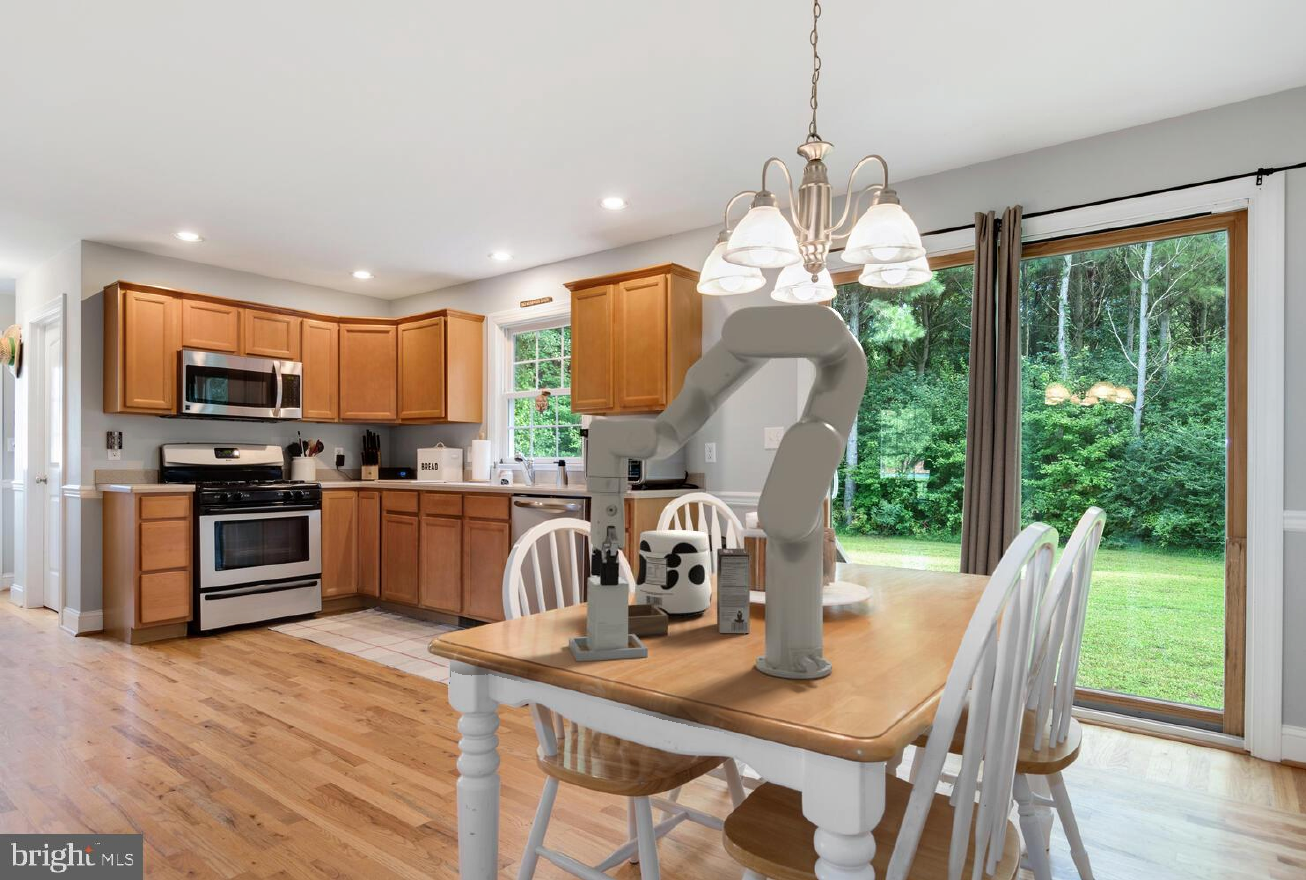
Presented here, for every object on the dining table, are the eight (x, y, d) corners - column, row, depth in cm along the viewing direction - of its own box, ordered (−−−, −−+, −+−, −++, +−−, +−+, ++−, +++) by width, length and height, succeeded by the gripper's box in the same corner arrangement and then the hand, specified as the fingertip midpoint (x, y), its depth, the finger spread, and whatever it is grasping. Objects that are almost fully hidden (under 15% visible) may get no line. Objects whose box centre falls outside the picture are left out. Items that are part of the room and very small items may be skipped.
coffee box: (716, 623, 158) (716, 547, 158) (746, 623, 158) (746, 548, 158) (719, 634, 149) (719, 553, 149) (751, 634, 149) (751, 554, 149)
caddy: (667, 636, 147) (668, 615, 147) (605, 639, 144) (605, 618, 144) (653, 622, 158) (653, 603, 158) (594, 625, 155) (595, 606, 155)
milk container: (703, 604, 177) (704, 529, 178) (718, 621, 160) (719, 537, 160) (631, 606, 175) (631, 529, 176) (638, 623, 158) (639, 538, 158)
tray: (647, 656, 132) (647, 648, 132) (577, 661, 129) (577, 652, 129) (634, 641, 142) (634, 634, 142) (568, 645, 139) (568, 637, 139)
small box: (628, 656, 132) (629, 583, 133) (593, 658, 131) (594, 584, 131) (619, 644, 140) (619, 575, 140) (586, 646, 139) (586, 576, 139)
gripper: (637, 490, 129) (634, 589, 128) (617, 484, 145) (614, 571, 145) (595, 489, 127) (591, 589, 127) (579, 483, 143) (576, 572, 143)
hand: (604, 580), depth 136 cm, fingers open, 9 cm apart
